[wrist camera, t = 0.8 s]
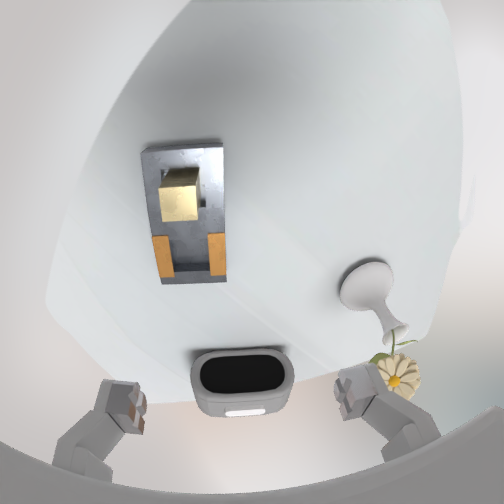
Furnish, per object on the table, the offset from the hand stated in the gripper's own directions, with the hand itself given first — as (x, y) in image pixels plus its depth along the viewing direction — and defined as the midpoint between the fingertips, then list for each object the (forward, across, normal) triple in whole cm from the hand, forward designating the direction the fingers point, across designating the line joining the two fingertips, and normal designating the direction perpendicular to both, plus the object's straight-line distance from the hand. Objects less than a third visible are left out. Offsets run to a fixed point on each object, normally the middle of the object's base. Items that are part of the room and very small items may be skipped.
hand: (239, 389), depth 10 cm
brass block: (+29, +5, -1) cm, 30 cm away
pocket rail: (+30, +5, +4) cm, 31 cm away
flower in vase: (+32, -24, +19) cm, 45 cm away
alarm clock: (+34, -1, +39) cm, 52 cm away
